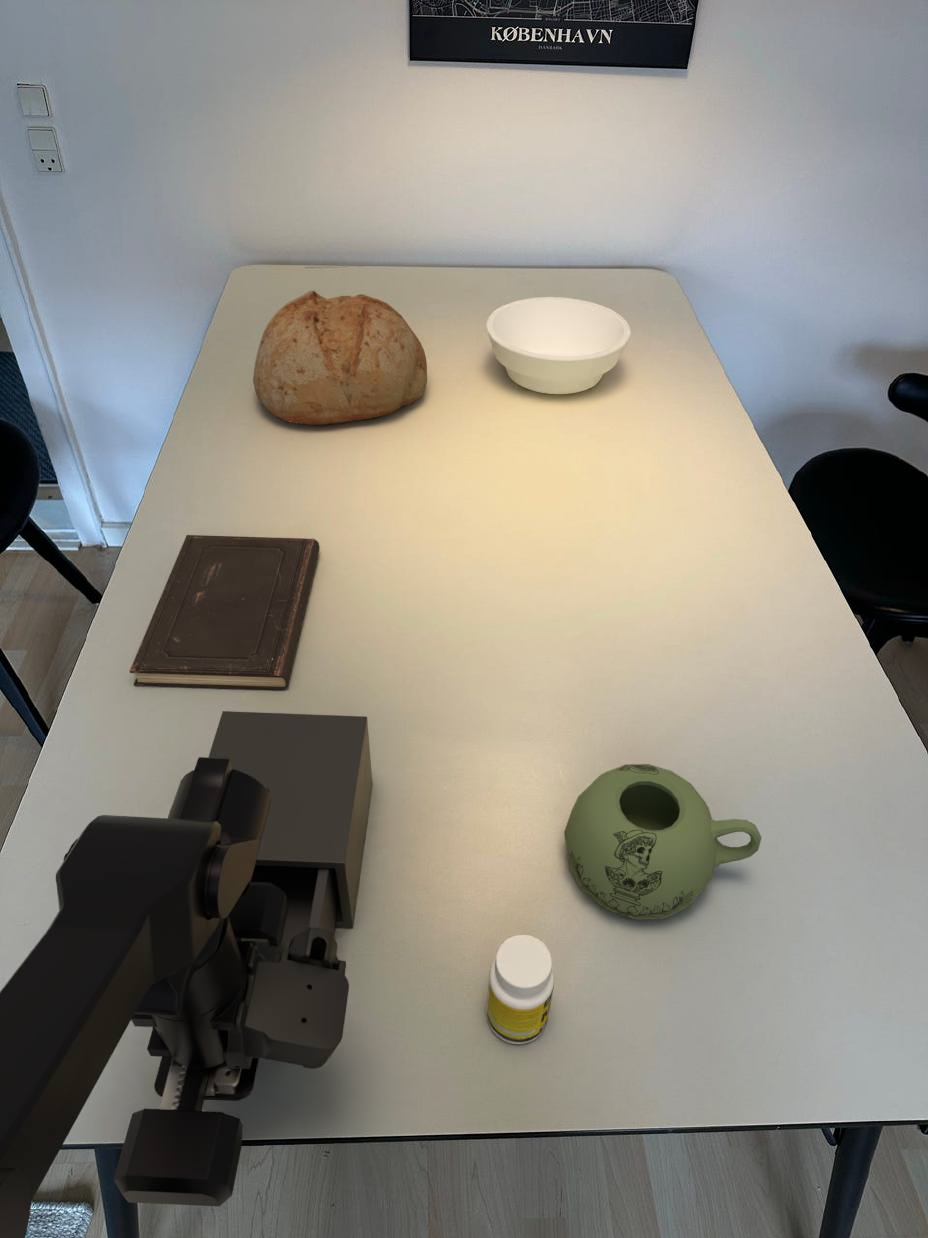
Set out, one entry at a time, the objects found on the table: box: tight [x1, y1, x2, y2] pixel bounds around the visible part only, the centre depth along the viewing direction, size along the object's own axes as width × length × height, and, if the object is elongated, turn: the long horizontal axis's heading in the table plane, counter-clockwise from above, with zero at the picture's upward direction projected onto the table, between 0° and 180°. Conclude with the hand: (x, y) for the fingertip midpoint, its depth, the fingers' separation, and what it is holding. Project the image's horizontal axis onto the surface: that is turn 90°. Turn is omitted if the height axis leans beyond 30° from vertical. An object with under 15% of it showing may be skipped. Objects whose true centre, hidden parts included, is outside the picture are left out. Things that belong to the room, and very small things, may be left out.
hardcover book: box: [129, 534, 321, 691], centre depth 101 cm, size 16×23×2 cm
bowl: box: [485, 296, 632, 395], centre depth 143 cm, size 22×22×8 cm
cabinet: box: [208, 710, 374, 929], centre depth 76 cm, size 15×13×10 cm
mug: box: [563, 763, 762, 920], centre depth 76 cm, size 16×13×9 cm
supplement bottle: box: [485, 934, 555, 1045], centre depth 66 cm, size 5×5×8 cm
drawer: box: [241, 865, 339, 962], centre depth 69 cm, size 18×11×8 cm, turn 178°
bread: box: [252, 290, 428, 426], centre depth 135 cm, size 26×23×15 cm
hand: (232, 1078), depth 61 cm, fingers closed
